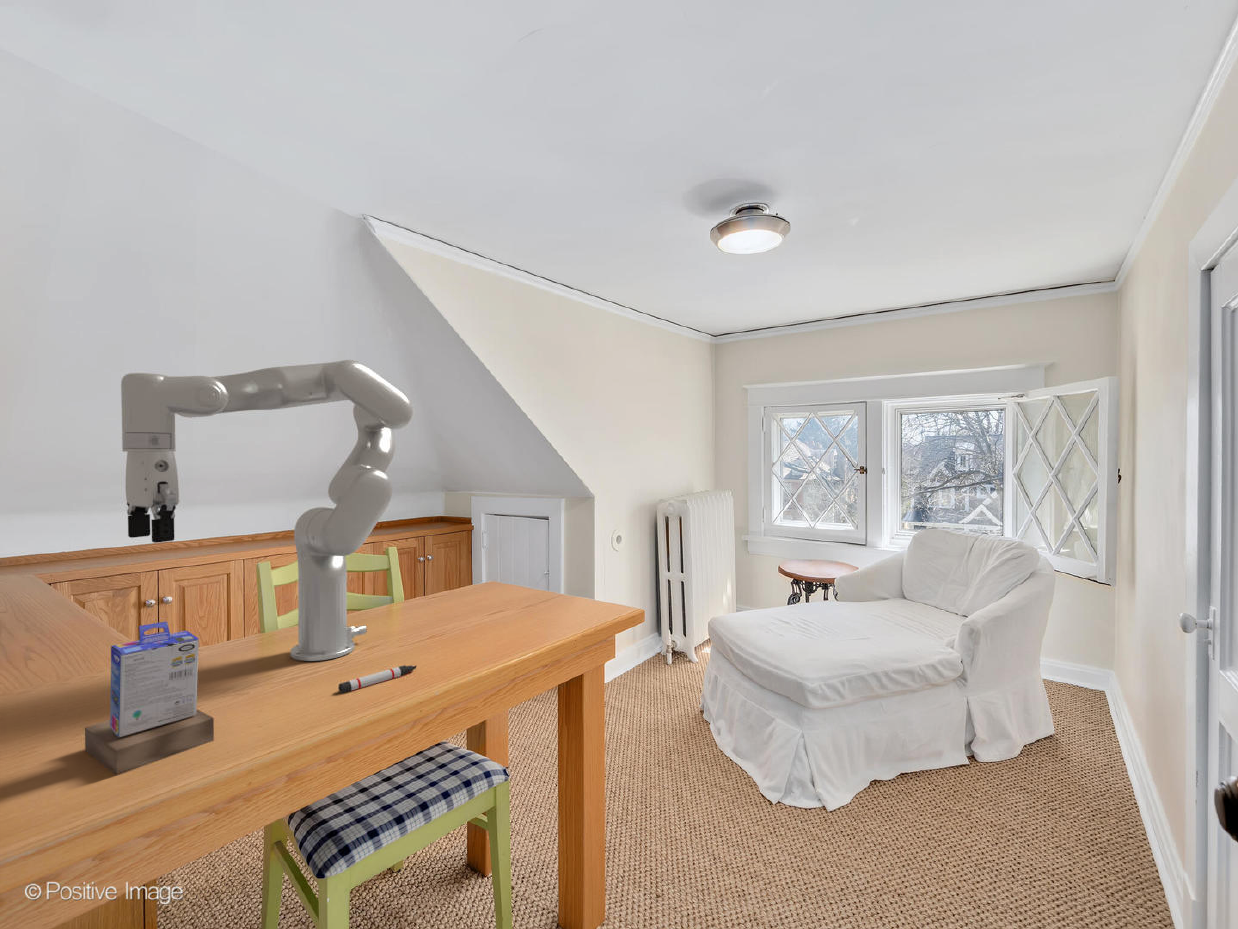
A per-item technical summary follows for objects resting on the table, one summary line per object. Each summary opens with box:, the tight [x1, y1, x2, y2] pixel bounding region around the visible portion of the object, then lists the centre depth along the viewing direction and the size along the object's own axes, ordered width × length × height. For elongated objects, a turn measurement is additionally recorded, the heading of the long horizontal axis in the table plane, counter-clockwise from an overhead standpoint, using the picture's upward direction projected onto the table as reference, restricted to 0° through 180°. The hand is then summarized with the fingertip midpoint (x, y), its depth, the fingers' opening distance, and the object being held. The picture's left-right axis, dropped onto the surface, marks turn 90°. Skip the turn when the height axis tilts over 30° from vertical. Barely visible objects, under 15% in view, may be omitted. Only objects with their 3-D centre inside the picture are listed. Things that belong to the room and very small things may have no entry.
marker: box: [338, 664, 417, 694], centre depth 117 cm, size 15×2×2 cm, turn 139°
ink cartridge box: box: [109, 621, 200, 737], centre depth 91 cm, size 10×6×14 cm, turn 144°
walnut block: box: [84, 708, 215, 776], centre depth 91 cm, size 12×12×4 cm
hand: (151, 539), depth 109 cm, fingers open, 9 cm apart
